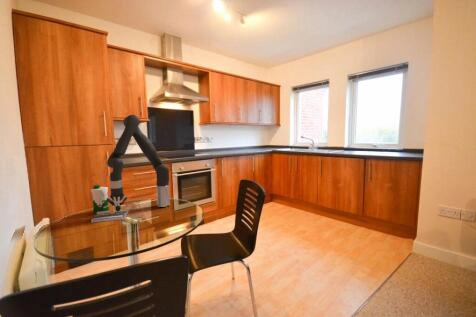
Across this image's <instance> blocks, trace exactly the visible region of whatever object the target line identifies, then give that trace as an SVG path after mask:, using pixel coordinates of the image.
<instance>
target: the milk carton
mask: <svg viewBox="0 0 476 317" xmlns="http://www.w3.org/2000/svg"><path fill="white" fill-rule="evenodd" d="M100 185H101V184H96V185H95V184H94V185H93V186H92V188H91V189H90V193H91V196H92V205H93V207H92V209H93V214H95V215H96V214H97V212H102V211H110V206H109V202H108V201H107V199H108V198H109V196H108V189H109V187H107V186H106V187H105V186H100Z"/></svg>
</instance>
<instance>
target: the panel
mask: <svg viewBox="0 0 476 317" xmlns="http://www.w3.org/2000/svg"><path fill="white" fill-rule="evenodd" d="M129 212H130V211H129V210H128V209H127V211H126V212H116V215H117V214H124V216H123V217H118V218H108V219H98V220H93V219H92V218H91V220H90V223H91V224H92V223H100V222H101V223H102V222H110V221H112V222H113V221H120V220H121V219H122V220H125V219H124V218H125V217H126V216H127V217H128V215H129ZM108 214H109V213H105V214H95V215H94V217H97V216H107V215H108ZM127 214H128V215H127ZM127 217H126V218H127Z"/></svg>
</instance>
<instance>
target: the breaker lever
mask: <svg viewBox="0 0 476 317" xmlns="http://www.w3.org/2000/svg"><path fill="white" fill-rule="evenodd" d="M114 210H115V206H112V205H111V204H110V206H109V211H110V213H109V214H108V215H116V213H114Z"/></svg>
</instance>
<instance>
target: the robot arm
mask: <svg viewBox="0 0 476 317" xmlns="http://www.w3.org/2000/svg"><path fill="white" fill-rule="evenodd" d="M122 123H123V125H124V129H123V132H122V134H121V136H119V139H118V140H117V142H116V144H115V147H114V150H113V151H112V152H111V154H110V155H109V156H108V159H107V161H106V165H107V166H108V167H109V168H111V169H112V171H111V172H110V173H109V182H110V183H109V189H110V195H109V197H108V199H107V201H108V204H110V205H112V206H114V209H115V210H116V211H120V210H122V208H121V206H123V205H124V203H125V202H126V200H127V199H128V196H126V195H125V194H124V185H123V175H122V174H123V170H124V162H123V160H122V159H121V158H122V157H123V156H124V155H125V154H126V152H127V150H128V147H129V144H130V142H131V140H132V137H133V139H134V142H136V143H137V145H138V147H139V149H140V150H141V153H143V155H144V156H145V158H146V159H147V160H148V161H149V163H150V164H151V165H152V167H153V170H154V171H155V174H156V183H155V184H156V201H157V202H156V204H157V206H158V207H165V206H167V205H171V204H170V202H171V201H170V170H169V167H168V166H166V164H165V163H164V162H163V160H162V159H161V158H160V155H159V154H158V151H157V150H156V148H155V146H154V144H153V142H152V141H151V140H150V139H149V137H147V135H145V134H144V133H143V132H142V130H141V128H140V127H139V125H140V118H139V116H137V115H135V114H130V115H127V116H126V117H124V118H123V122H122ZM122 199H123V200H122ZM158 207H157V208H158Z"/></svg>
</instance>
